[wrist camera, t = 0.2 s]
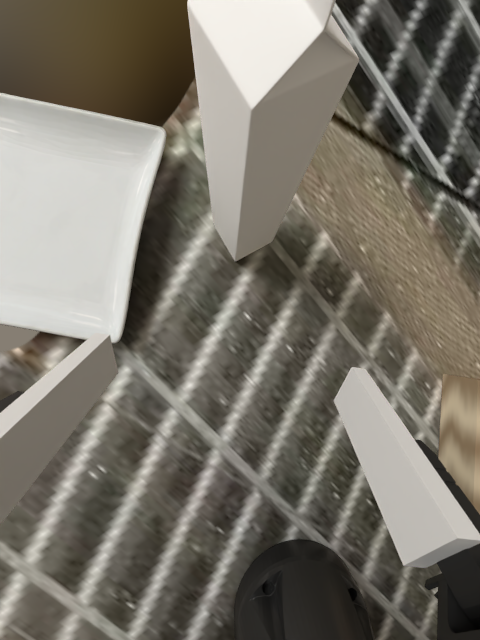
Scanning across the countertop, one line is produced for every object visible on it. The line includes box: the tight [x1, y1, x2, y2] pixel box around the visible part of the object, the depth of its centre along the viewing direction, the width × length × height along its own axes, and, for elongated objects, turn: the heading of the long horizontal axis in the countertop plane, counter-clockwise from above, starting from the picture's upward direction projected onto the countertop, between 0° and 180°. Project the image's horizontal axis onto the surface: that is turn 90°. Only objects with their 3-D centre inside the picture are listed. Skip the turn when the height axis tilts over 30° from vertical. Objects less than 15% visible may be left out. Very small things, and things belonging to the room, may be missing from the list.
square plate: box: [0, 93, 166, 343], centre depth 25 cm, size 27×27×4 cm
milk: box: [187, 0, 359, 262], centre depth 17 cm, size 6×6×22 cm
